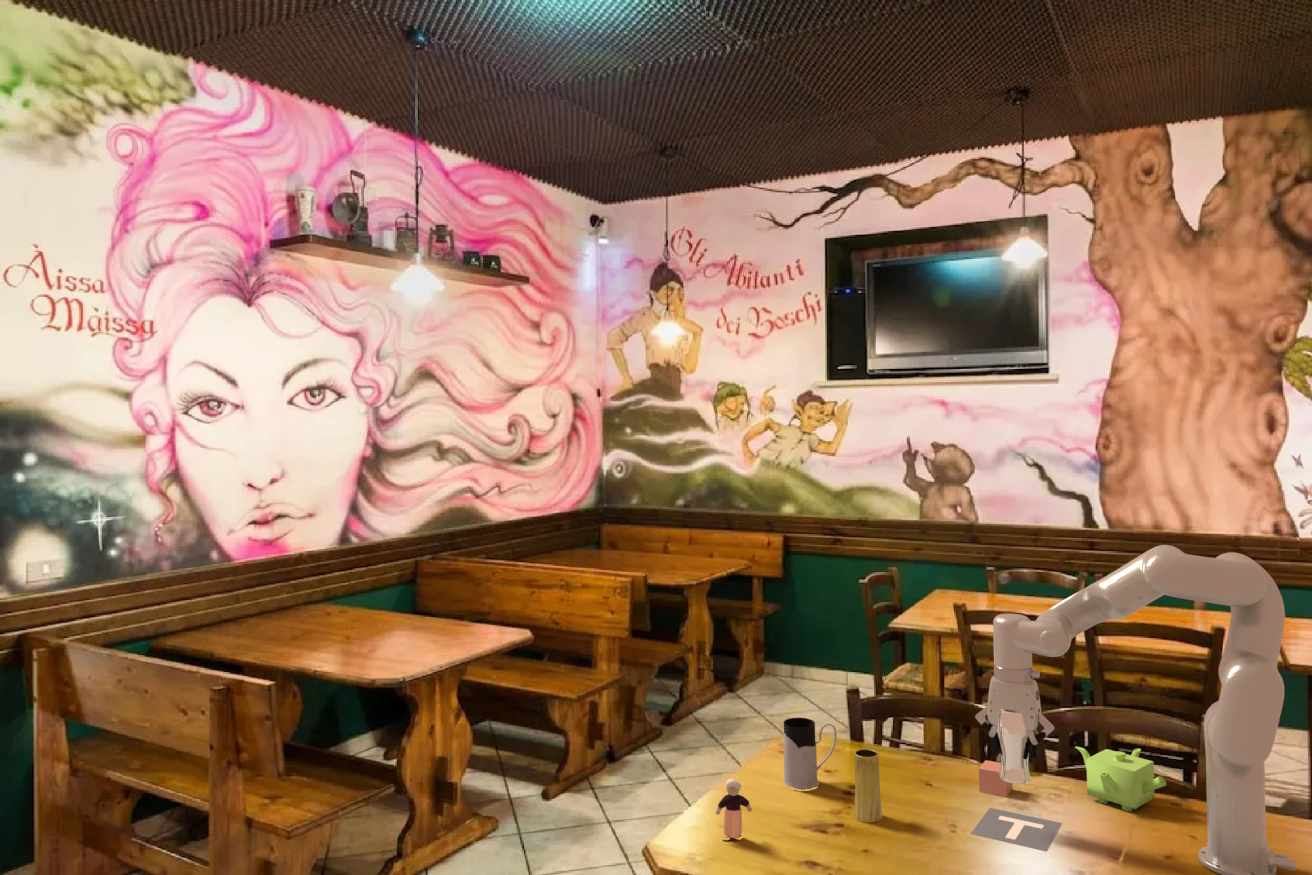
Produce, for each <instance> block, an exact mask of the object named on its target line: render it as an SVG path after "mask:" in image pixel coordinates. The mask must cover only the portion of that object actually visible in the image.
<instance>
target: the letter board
mask: <svg viewBox="0 0 1312 875" xmlns="http://www.w3.org/2000/svg"><path fill="white" fill-rule="evenodd" d="M1062 824H1063V823H1062V822H1058V821H1054V820H1049V819H1044V818H1040V817H1034V816H1030V815H1025V814H1021V813H1016V812H1011V811H1008V810H1003V809H998V808H994V807H989V808H988V809H987V811H986V813H984V815H983V816H982V818H981V819H980V820H979V821H978V823H977V824H976V826H975V827H974V828H973V829H972V831H971V832H970V835H973V836H978V837H982V838H986V839H992V840H995V841H999V842H1004V843H1007V844H1011V845H1016V846H1021V847H1024V848H1030V849H1034V850H1038V851H1042V852H1048V850H1049V848H1050V846H1051V845H1052V842H1053V840H1054V838H1055V837H1056V836H1057V834H1058V831H1059V830H1060V828H1061V827H1062Z"/></svg>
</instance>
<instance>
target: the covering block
mask: <svg viewBox="0 0 1312 875" xmlns="http://www.w3.org/2000/svg"><path fill="white" fill-rule="evenodd" d="M1000 769H1001V762H997V761H992V760H986V759H984V761H983V763H982V764H981V765H980V766H979V767H978V789H979V791H978V793H983V794H987V795H992V796H997V797H1003V798H1007V797H1008V796H1009V794H1010V793H1011V791H1013V788H1014V787H1013V783H1010V782H1006V781H1004V780H1002V779H1001V778H1000Z"/></svg>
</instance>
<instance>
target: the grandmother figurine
mask: <svg viewBox="0 0 1312 875" xmlns="http://www.w3.org/2000/svg"><path fill="white" fill-rule="evenodd" d="M725 789H726V791H727V794H726V795H724V796H723V797H722V798H721V800H720V801H719V803H718V804H717V806H716V810H715V812H714V813H715V815H721V811H722V810H723V808H725V810H724V816H723V817H724V818H723V836H724V837H725V838H730V837H731V838H733V839H734V838H739V837H741V836H743V835H742V833H743V817H742V816H743V815H742V814H743V813H742V808H741V806H742V807H744V808H746V811H747V812H750V813H751V812H752V811H753V809H752V807H751V804H750V801H749V800H748V799H747V798H746V797H744V796H743V795H741V794H739V792H740V790H741V789H742V785H741V783H740V781H739V780H738V779H736V778H734V777H733V778H729V779H728V780H726V782H725ZM724 834H725V835H724Z"/></svg>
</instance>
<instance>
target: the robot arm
mask: <svg viewBox="0 0 1312 875" xmlns="http://www.w3.org/2000/svg"><path fill="white" fill-rule="evenodd" d="M1278 587H1279V586H1278V585H1277V583H1276V582H1275V579H1273V577H1272V576H1271V575H1270V574H1269V573H1268V572H1267V570H1265V569H1264V568H1263V566H1261V565H1260V564H1259V563H1258V562H1256V561H1255V560H1253V559H1252V558H1251V557H1249V556H1247V555H1245V554H1242V553H1239V552H1234V551H1233V552H1226V553H1222V554H1219V555H1218V556H1216V557H1208V556H1201V555H1194V554H1188V553H1185V552H1183V551H1182V550H1181V549H1179V548H1178V547H1175V546H1173V545H1171V544H1170V545H1169V544H1159V545H1158V546H1154V547H1152V548H1151V549H1148V550H1147V551H1145V552H1143V553H1142V554H1140V555H1138V556H1137V557H1135V558H1133V559H1132V560H1130V561H1129V562H1127V563H1125V564H1123V565H1122V566H1121V567H1119V568H1117V569H1115V570H1114V571H1113V572H1111V573H1109V574H1107V575H1106V576H1104V577H1102V578H1101V579H1099V580H1097V581H1095V582H1093V583H1091V584H1089V585H1088V586H1086V587H1085V588H1083V589H1081V590H1079V591H1077V592H1075V593H1073V594H1072V595H1069V596H1068V597H1066V598H1064V599H1063V600H1062V601H1061V600H1060V601H1059V602H1058V603H1056V604H1055V605H1053V606H1051V607H1049V608H1048V609H1047V610H1045V611H1043V613H1041V614H1040V615H1038V617H1037V618H1036V620H1031V619H1030V618H1029V617H1028V616H1026V615H1023V614H1019V613H1018V614H1017V613H1000V614H997V615H996V616H995V617H994V618H993V622H992V623H993V624H992V627H993V628H992V630H993V632H992V633H993V635H992V636H993V675H992V677H991V678H990V683H989V687H988V698H987V706H985V707H984V708H982V709H981V710H980V711H979V712H978V713H976V714H975V716H974V717H975V719H976V720H977V722H978V723H979V724H980V725H981V726H982V728H983V730H984V731H986V733H987V734H988V737H990V751H992V752H993V757H998V756H999V755H1001V754H1000V748H999V744H998V738H997V728H996V726H997V725H998V717H999V711H1000V710H999V709H1001V710H1004V711H1008V712H1021V713H1022V718H1023V722H1024V726H1025V730H1026V731H1028V737H1029V739H1030V744H1029V756H1028V763H1029V764H1034V762H1035V761H1036V760H1037V759H1038V758H1039V743H1040V742H1041V741H1043V740H1044V739H1045V738H1046V737H1047V736H1049V735H1050V733H1052V732H1053V731H1054V730H1055V726H1054V725H1053V723H1051V722H1050V720H1049V719H1047V717H1045V715H1043V713H1042V707H1041V697H1040V692H1039V686H1038V683H1037V682H1038V681H1036V680H1034V679H1039V678H1040V676H1041V675H1040V674H1041V673H1040V671H1039V670H1038V671H1037V670H1034V666H1033V654H1034V655H1035V654H1036V655H1040V656H1043V657H1050V658H1054V657H1056V658H1057V657H1060V656H1063V655H1064V654H1067V652H1068V651H1069V649H1070V647H1071V643H1072V639H1074V638H1075V637H1077V636H1078V635H1080V634H1082V633H1083V632H1085V631H1087V630H1089V629H1091V628H1092V627H1094V626H1096V625H1098V624H1101V623H1103V622H1106V621H1110V620H1111V621H1113V620H1121V619H1124V618H1127V617H1129V616H1131V615H1132V614H1135V613H1136V612H1137V611H1139V610H1140V609H1142V608H1144V607H1146V606H1147V605H1149V604H1151V603H1152V602H1154V601H1156V600H1157V599H1159V598H1161V597H1163V596H1168V597H1172V598H1178V599H1184V600H1189V601H1195V602H1196V601H1197V602H1200V603H1201V602H1202V603H1209V604H1214V605H1215V604H1216V605H1223V606H1227V607H1228V606H1229V607H1230V619H1229V625H1228V632H1227V637H1226V640H1225V641H1226V642H1225V644H1224V649H1223V652H1222V657H1221V658H1220V659H1221V660H1220V663H1219V665H1218V676H1219V677H1218V678H1219V681H1220V683H1221V689H1220V693H1219V699H1218V700H1217V701H1216V702H1214V703H1212V704H1211V705H1210V706H1209V707H1208V708H1207V710H1206V712H1205V715H1204V719H1203V733H1204V734H1203V735H1204V748H1205V771H1206V776H1205V777H1206V781H1205V782H1206V784H1205V785H1206V823H1207V824H1206V825H1207V827H1206V828H1207V845H1205V846H1203V847H1201V848H1200V849H1199V851H1198V860H1199V862H1200V863H1201V864H1202V866H1204V867H1206V868H1207V869H1208V870H1210V871H1212V872H1215V873H1217V874H1219V875H1277V868H1280V869H1284V870H1286V871H1287V870H1288V871H1292V872H1296V860H1295V859H1290V858H1288V857H1289V856H1288V854H1285V853H1281V852H1280V853H1278V852H1274V851H1273V850H1272V849H1269V846H1270V845H1269V842H1267V830H1266V829H1267V823H1266V773H1265V772H1266V769H1265V762H1266V761H1267V760H1268V758H1269V756H1271V753H1272V750H1273V746H1274V744H1275V740H1276V739H1275V738H1276V736H1277V731H1278V728H1279V727H1278V726H1279V723H1280V719H1281V718H1280V717H1281V714H1282V710H1283V706H1284V701H1285V684H1284V680H1283V677H1282V675H1281V674H1280V671H1279V670H1278V663H1279V662H1278V661H1279V655H1280V652H1281V648H1282V647H1281V646H1282V639H1283V636H1284V634H1283V633H1284V630H1285V621H1286V612H1285V604H1284V600H1283V596H1282V594H1281V591H1280V590H1279V588H1278ZM986 716H987V719H986ZM1040 725H1041V726H1043V729H1042V730H1041V731H1040V732H1039V733H1038V731H1037V729H1038V726H1040Z"/></svg>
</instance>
